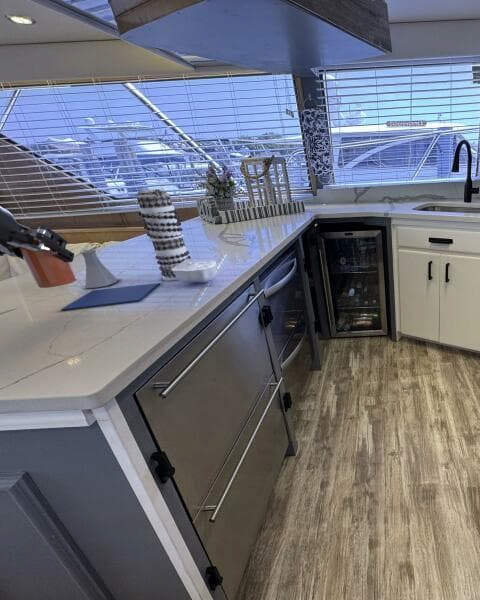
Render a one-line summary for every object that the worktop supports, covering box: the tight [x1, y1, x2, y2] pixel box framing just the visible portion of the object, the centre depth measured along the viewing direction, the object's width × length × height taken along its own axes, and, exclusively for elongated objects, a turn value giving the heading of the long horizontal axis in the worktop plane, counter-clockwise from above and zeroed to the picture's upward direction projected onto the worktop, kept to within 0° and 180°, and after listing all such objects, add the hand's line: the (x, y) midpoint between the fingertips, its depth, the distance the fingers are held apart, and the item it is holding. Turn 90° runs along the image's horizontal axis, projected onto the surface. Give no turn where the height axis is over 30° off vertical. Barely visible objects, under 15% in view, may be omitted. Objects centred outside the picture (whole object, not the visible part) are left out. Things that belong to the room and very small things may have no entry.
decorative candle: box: [135, 188, 192, 282], centre depth 93 cm, size 9×9×25 cm
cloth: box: [61, 282, 160, 312], centre depth 84 cm, size 16×13×1 cm
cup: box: [19, 237, 78, 289], centre depth 68 cm, size 6×6×10 cm
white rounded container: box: [171, 258, 218, 284], centre depth 90 cm, size 10×12×7 cm
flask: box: [79, 249, 118, 289], centre depth 91 cm, size 7×7×10 cm
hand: (54, 259), depth 70 cm, fingers closed on cup, 6 cm apart
